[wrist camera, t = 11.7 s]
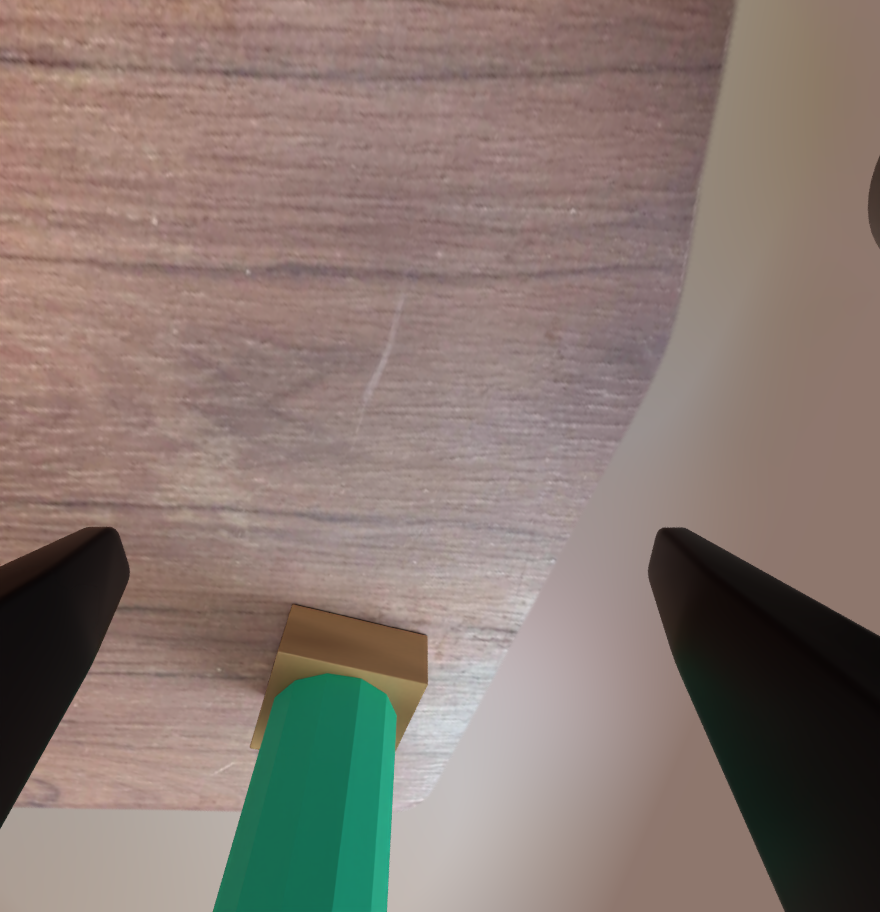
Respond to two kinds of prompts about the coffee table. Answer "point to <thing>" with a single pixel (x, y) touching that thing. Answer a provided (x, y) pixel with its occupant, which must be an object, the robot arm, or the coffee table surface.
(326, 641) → the maple block
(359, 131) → the coffee table surface
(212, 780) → the coffee table surface
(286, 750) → the candle
